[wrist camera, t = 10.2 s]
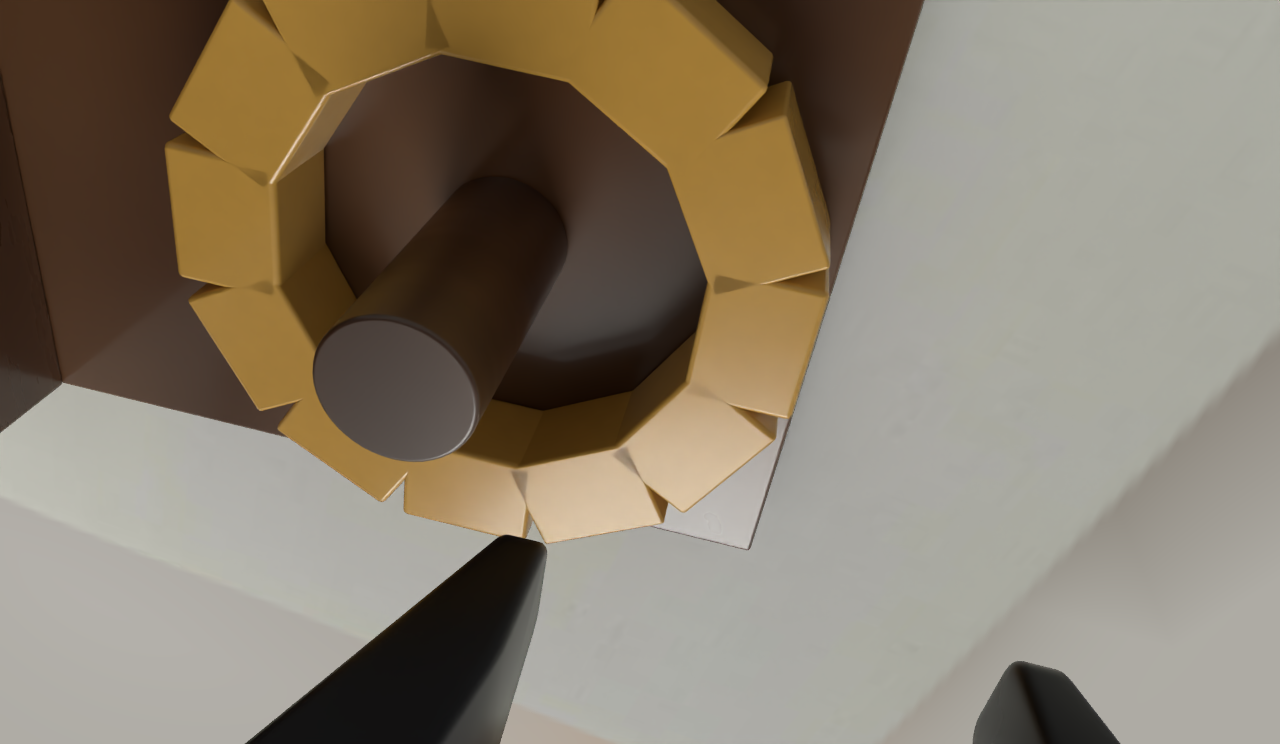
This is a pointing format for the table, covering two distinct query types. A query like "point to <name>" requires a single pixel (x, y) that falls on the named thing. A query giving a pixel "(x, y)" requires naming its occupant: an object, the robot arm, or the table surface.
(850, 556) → the table surface
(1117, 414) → the table surface
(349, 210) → the stand
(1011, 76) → the table surface
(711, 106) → the brass ring
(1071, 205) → the table surface
